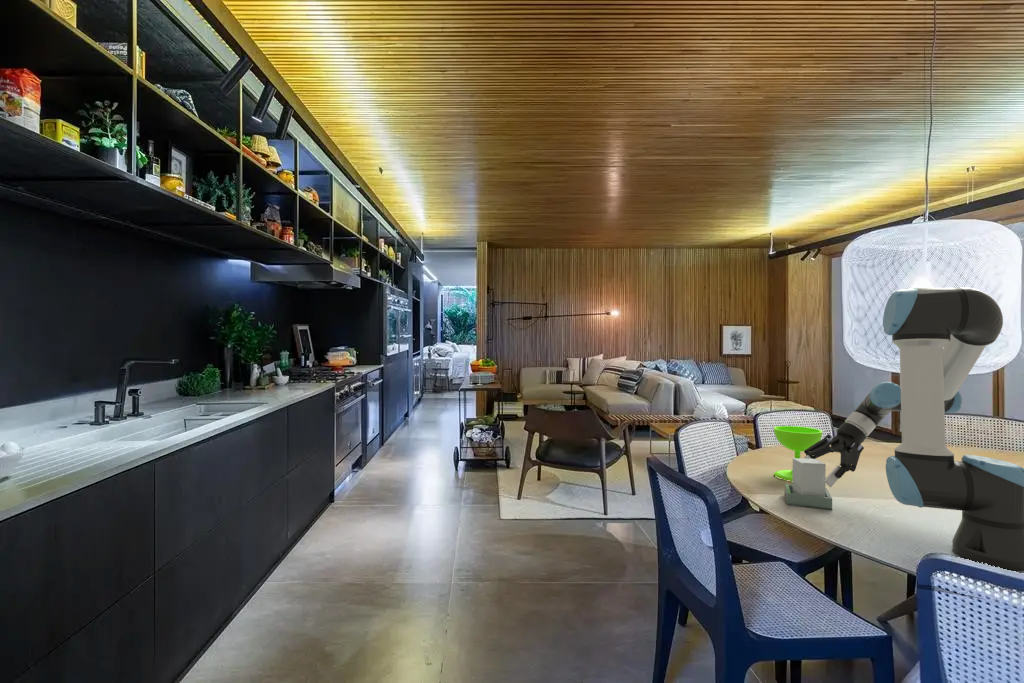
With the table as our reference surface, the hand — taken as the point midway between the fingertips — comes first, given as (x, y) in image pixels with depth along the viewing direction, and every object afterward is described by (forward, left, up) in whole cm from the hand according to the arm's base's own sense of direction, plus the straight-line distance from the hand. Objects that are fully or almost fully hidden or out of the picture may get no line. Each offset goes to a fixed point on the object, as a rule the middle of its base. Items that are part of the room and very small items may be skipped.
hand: (811, 478), depth 168 cm
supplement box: (-1, +1, -7) cm, 7 cm away
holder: (-1, +1, -8) cm, 8 cm away
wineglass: (+31, +2, -8) cm, 32 cm away
